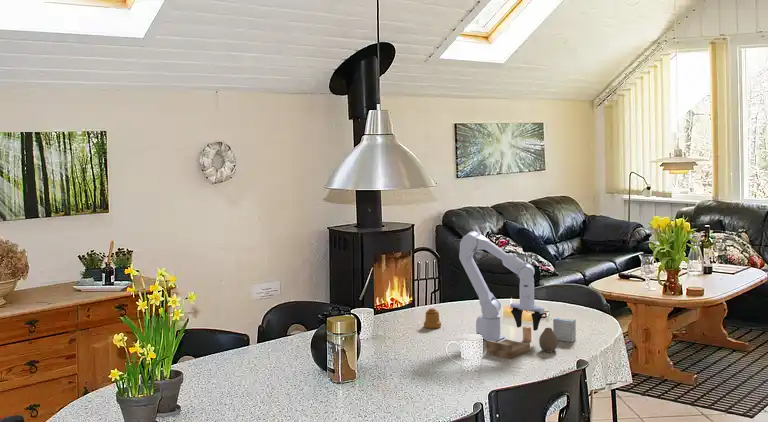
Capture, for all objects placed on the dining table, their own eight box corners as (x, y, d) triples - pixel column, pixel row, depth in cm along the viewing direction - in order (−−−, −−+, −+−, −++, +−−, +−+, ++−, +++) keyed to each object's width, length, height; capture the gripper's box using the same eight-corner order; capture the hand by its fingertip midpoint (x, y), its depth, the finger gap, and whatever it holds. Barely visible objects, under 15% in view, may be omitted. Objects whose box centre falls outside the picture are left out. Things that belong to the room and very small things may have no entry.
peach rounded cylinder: (521, 341, 312) (521, 327, 312) (525, 339, 315) (525, 325, 314) (528, 342, 310) (528, 329, 309) (533, 340, 313) (533, 327, 312)
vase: (557, 353, 295) (557, 331, 294) (539, 353, 296) (539, 330, 295) (557, 348, 302) (557, 326, 301) (539, 347, 303) (539, 325, 302)
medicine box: (576, 339, 312) (576, 318, 311) (572, 342, 308) (572, 321, 307) (556, 337, 316) (556, 316, 315) (553, 340, 313) (553, 319, 312)
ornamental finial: (426, 324, 341) (443, 325, 339) (421, 328, 334) (438, 329, 332) (426, 306, 340) (443, 307, 338) (421, 310, 334) (437, 311, 331)
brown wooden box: (486, 353, 298) (486, 340, 297) (505, 345, 307) (505, 333, 306) (510, 358, 290) (510, 345, 289) (530, 350, 300) (529, 337, 299)
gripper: (548, 295, 308) (548, 329, 310) (517, 290, 318) (517, 323, 320) (538, 298, 303) (538, 333, 305) (507, 294, 313) (507, 327, 315)
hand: (527, 328), depth 312 cm, fingers open, 7 cm apart
